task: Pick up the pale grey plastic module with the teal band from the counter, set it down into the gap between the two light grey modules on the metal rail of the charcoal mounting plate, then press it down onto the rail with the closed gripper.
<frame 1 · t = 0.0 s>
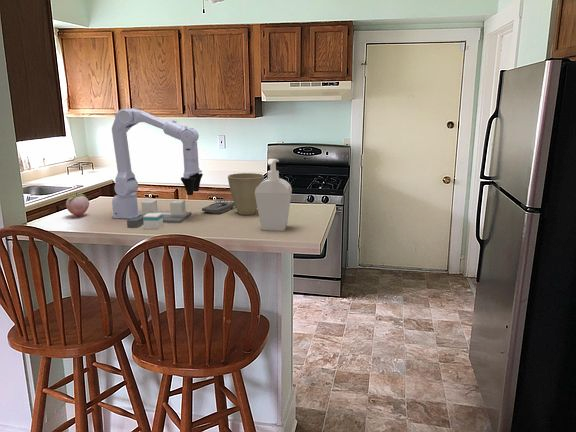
hand: (193, 193, 193), 10 cm above the counter, tool pointing down, fingers open, 7 cm apart
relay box: (135, 226, 184), on the counter
module: (153, 227, 181), on the counter
graphics card: (217, 211, 208), on the counter
soap bottle: (274, 229, 177), on the counter
mounting plate: (164, 218, 195), on the counter
plant pot: (247, 213, 202), on the counter
decorative fruit: (78, 216, 200), on the counter
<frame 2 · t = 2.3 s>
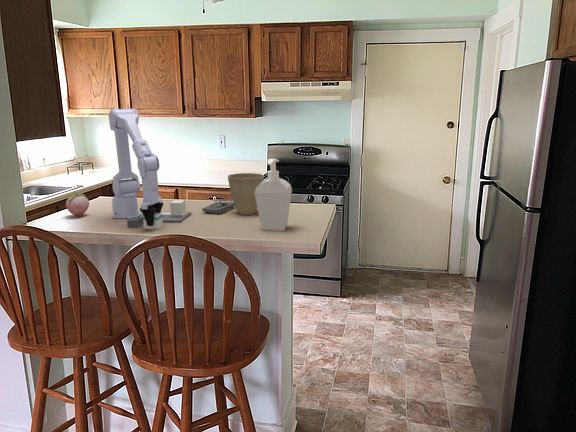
hand: (153, 223, 181), 1 cm above the counter, tool pointing down, fingers closed on module, 5 cm apart
module: (153, 227, 181), on the counter, touching gripper
everything else where it was.
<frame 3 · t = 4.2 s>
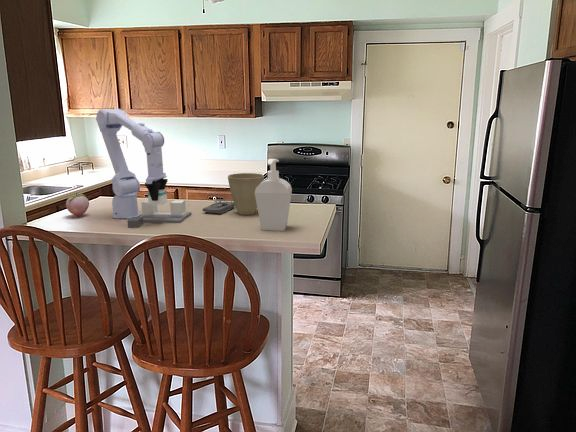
hand: (157, 199, 187), 9 cm above the counter, tool pointing down, fingers closed on module, 5 cm apart
module: (158, 203, 187), point 8 cm above the counter, touching gripper
everything else where it was.
when the fingers open (4 cm above the counter, at t = 6.3 s): module stays where it is, resting on mounting plate.
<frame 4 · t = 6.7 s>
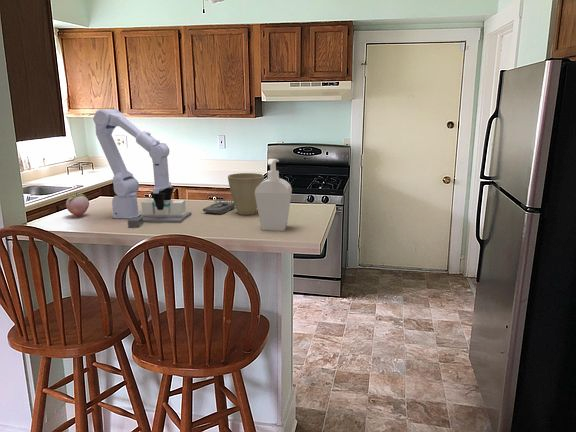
hand: (163, 207, 194), 4 cm above the counter, tool pointing down, fingers open, 7 cm apart
module: (164, 213, 194), point 2 cm above the counter, touching mounting plate
everything else where it was.
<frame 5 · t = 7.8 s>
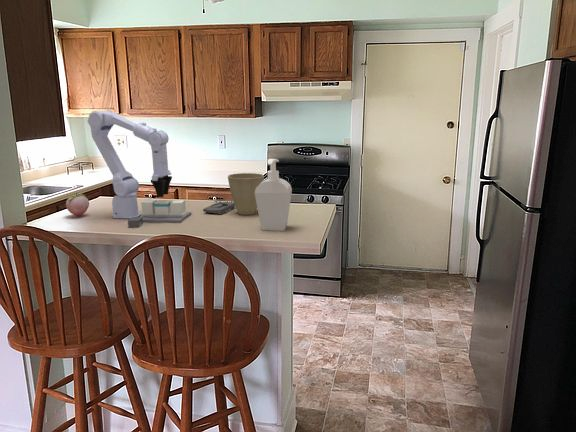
hand: (162, 195, 193), 9 cm above the counter, tool pointing down, fingers open, 5 cm apart
nothing on the counter moved.
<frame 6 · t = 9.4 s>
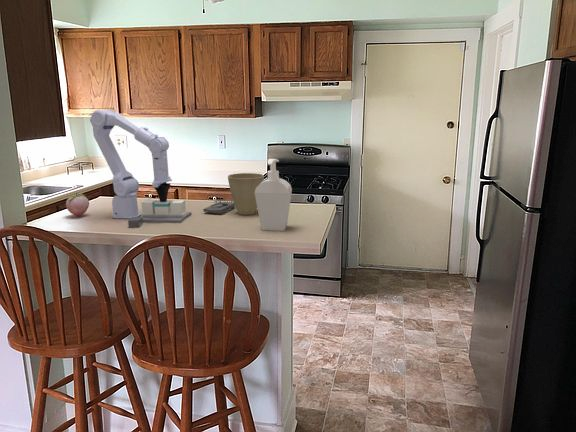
hand: (163, 201, 193), 7 cm above the counter, tool pointing down, fingers closed, pressing on module
module: (164, 213, 194), point 2 cm above the counter, touching gripper, mounting plate
everything else where it was.
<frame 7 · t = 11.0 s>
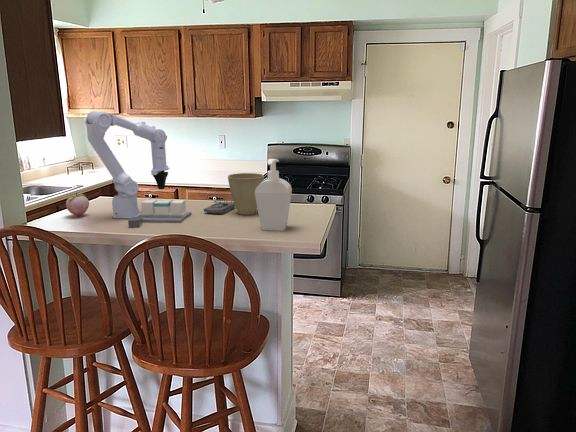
hand: (161, 189, 207), 9 cm above the counter, tool pointing down, fingers closed
module: (164, 213, 194), point 2 cm above the counter, touching mounting plate
everything else where it was.
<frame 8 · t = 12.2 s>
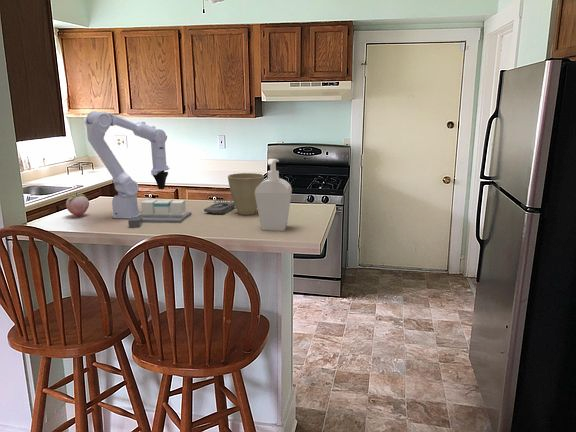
hand: (161, 189, 207), 9 cm above the counter, tool pointing down, fingers closed
at the end: module 0.1 cm off-centre on the mounting plate, point 2.0 cm above the mounting plate's base; module tilted 0°; the gripper is holding nothing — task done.
